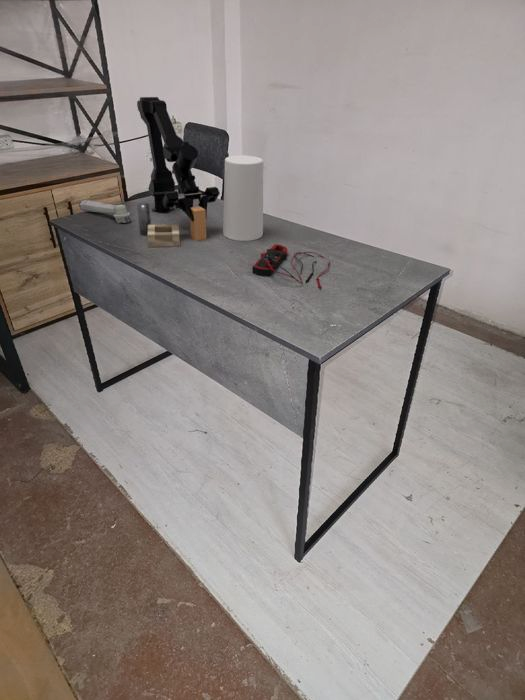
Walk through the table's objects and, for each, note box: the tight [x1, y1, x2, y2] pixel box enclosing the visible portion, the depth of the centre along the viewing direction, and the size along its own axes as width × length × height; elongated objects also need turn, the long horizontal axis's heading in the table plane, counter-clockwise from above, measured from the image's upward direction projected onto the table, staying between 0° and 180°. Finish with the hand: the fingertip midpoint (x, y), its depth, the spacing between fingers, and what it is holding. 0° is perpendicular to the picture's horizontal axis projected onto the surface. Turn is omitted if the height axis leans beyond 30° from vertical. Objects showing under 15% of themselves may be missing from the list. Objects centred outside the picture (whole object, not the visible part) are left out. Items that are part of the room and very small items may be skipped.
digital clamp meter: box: [252, 244, 331, 292], centre depth 140 cm, size 23×4×25 cm
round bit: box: [136, 202, 152, 237], centre depth 157 cm, size 4×4×10 cm
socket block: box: [147, 223, 181, 248], centre depth 154 cm, size 10×10×4 cm
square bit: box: [189, 206, 207, 241], centre depth 156 cm, size 4×4×10 cm
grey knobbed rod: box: [78, 199, 131, 224], centre depth 173 cm, size 5×7×25 cm
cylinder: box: [222, 154, 264, 242], centre depth 157 cm, size 14×25×14 cm
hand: (199, 220), depth 154 cm, fingers open, 4 cm apart
